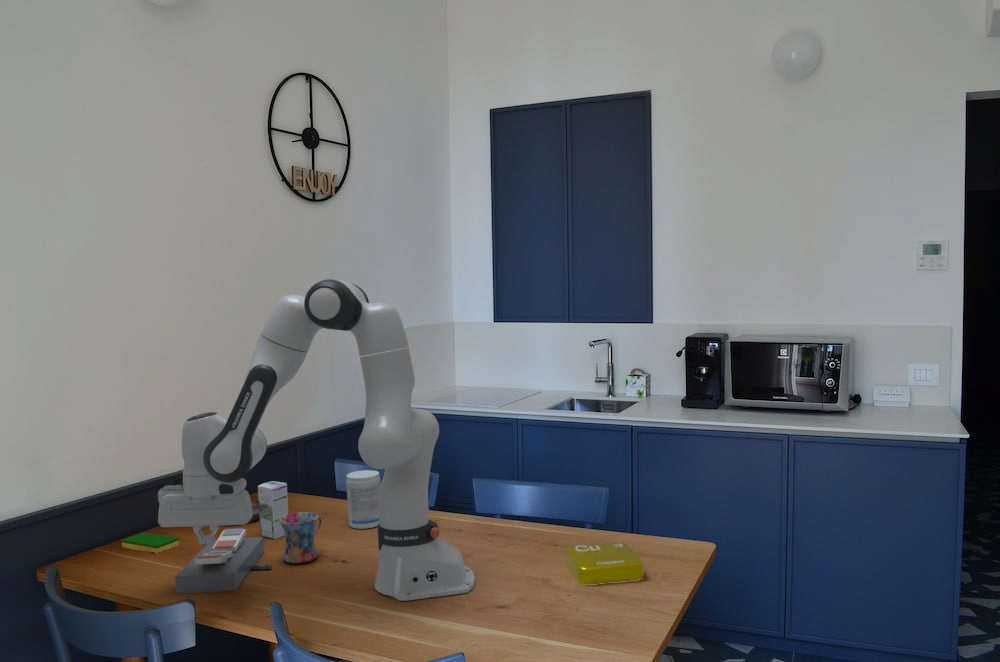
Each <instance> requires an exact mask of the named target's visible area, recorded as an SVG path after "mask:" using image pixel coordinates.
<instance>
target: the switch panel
mask: <svg viewBox="0 0 1000 662" xmlns="http://www.w3.org/2000/svg"><path fill="white" fill-rule="evenodd" d="M264 538H265V537H262V536H259V537H256V536H255V537H244V538H243V540H242V546H239V547H238V549H237V551H236V552H232V557H230V558H228V561H227V563H226V564H207V565H201V564H195V559H196V558H198V557H200V556H202V555H204V554H206V553H208V552H210V551H213V550H212V548H213V546H214V545H215V543H216V541H217V540H218V538H217V539H216V538H214V544H213V545H204V547H203V548H202V549H201V550H200V551H199V552H198V553H197V554H196V555H195V556H194V557H193V558H192V559H191V560H190V561H189V562H188V563H187V564H186V565H185V566H184V567H183V568H182V569H181V570H180V571H179V572H178V573H177V574H176V575H175V593H176V594H179V595H181V594H199V593H220V592H236V591H237V589H238V588H239V587H240V585H241V584H242V583H243V581H244V580H245V579H246V577H247V576H248V575H249V573H250V572H251V571H263V570H264V571H265V570H271V569H272V568H273V565H272V564H270V563H268V564H267V563H266V564H257V563H256V562H258V561H259V560H260V559H261V557H262V556H263V555H262V554H264V553H265V543H264V541H265V540H264ZM259 558H260V559H259ZM255 563H256V564H255ZM250 570H251V571H250ZM249 571H250V572H249ZM248 572H249V573H248ZM247 574H248V575H247ZM246 575H247V576H246ZM245 576H246V577H245ZM244 578H245V579H244ZM243 579H244V580H243ZM242 580H243V581H242ZM241 582H242V583H241ZM240 583H241V584H240ZM238 586H239V587H238Z"/></svg>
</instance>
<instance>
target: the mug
mask: <svg viewBox="0 0 1000 662" xmlns="http://www.w3.org/2000/svg"><path fill="white" fill-rule="evenodd" d="M317 521H318V525H317ZM322 521H323V520H322V518H321V517H320V516H319V515H318V514H317V513H314V512H307V511H305V512H304V511H303V512H294V513H290V514H289V513H288V515H286V516H283V517H282V518H280V523H281V525H282V527H283V530H284V533H285V536H284V537H285V551H284V554H283V557H282V559H283V561H284V562H287V563H288V564H289V563H291V564H303V563H308V562H310V561H314V560H315V559H316V558H317V557H318V556H319V553H318V550H317V548H316V546H315V538H316V536H317V535H318V534H319V531H320V529H321V526H322ZM316 525H317V528H316ZM315 528H316V531H315Z"/></svg>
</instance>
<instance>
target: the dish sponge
mask: <svg viewBox="0 0 1000 662" xmlns="http://www.w3.org/2000/svg"><path fill="white" fill-rule="evenodd" d="M179 540H180V538H179V537H175V536H170V535H163V534H157V533H150V532H140V533H138V534H136V535H135V534H134V535H132V536H130V537H126V538H124V539H122V540H121V547H122V548H123V549H129V550H135V551H140V552H145V551H146V553H151V552H154V553H153V554H160V553H159V552H161V551H163V552H165V551H164V550H166V551H168V550H170V548H171V549H173V548H172V547H174V548H176V547H178V546H177V545H179V546H180V542H179ZM175 546H176V547H175ZM167 549H168V550H167ZM161 553H162V552H161Z"/></svg>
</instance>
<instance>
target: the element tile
mask: <svg viewBox="0 0 1000 662" xmlns="http://www.w3.org/2000/svg"><path fill="white" fill-rule="evenodd" d="M567 565H568V566H567ZM566 566H567V568H568V567H569V568H570V569H569V568H568V569H569V571H570V570H571V571H572V572H571V571H570V572H571V574H572V573H573V574H574V576H575V577H576V579H577V580H578V582H579V583H581V584H587V585H588V584H599V583H609V582H619V581H629V580H637V579H641V578H643V576H644V575H645V574H644V561H643V560H642V559H641V558H640V556H638V555H637V553H635V551H633V549H632V548H631V547H630V546H629V545H628V544H626V543H625V542H613V543H612V542H611V543H610V542H609V543H599V544H598V543H597V544H587V545H573V546H569V547H567V549H566ZM573 574H572V575H573ZM574 576H573V577H574ZM575 577H574V578H575ZM576 579H575V580H576ZM577 580H576V581H577ZM578 582H577V583H578ZM579 583H578V584H579Z"/></svg>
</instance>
